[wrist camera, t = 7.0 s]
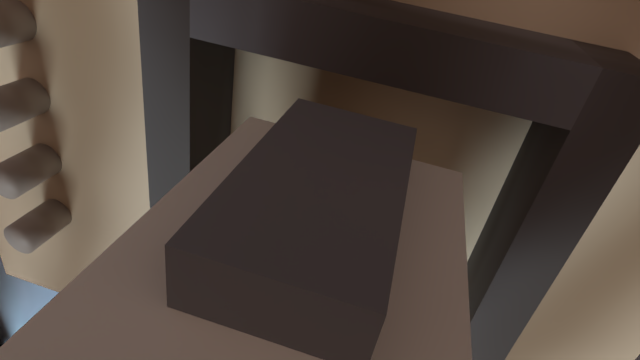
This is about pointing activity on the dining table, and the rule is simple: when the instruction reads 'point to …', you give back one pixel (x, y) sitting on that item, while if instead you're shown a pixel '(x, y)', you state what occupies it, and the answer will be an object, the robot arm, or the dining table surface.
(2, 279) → the dining table surface
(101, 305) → the plug
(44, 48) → the header board
